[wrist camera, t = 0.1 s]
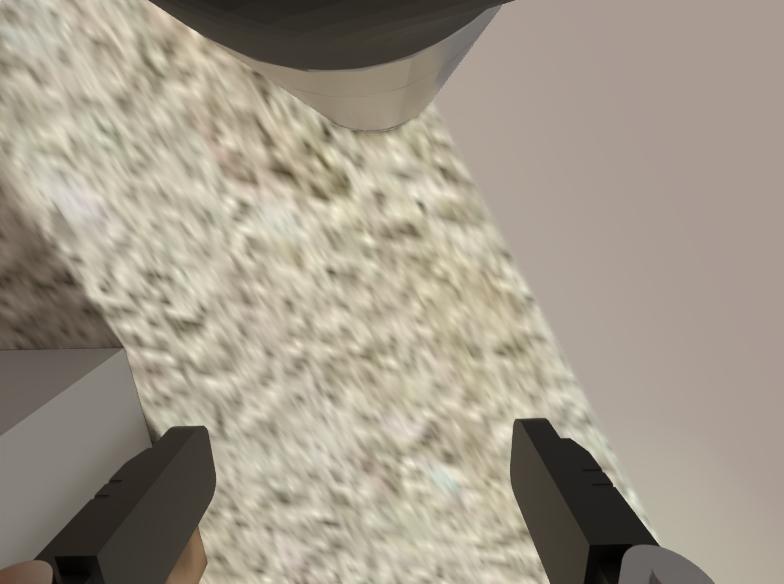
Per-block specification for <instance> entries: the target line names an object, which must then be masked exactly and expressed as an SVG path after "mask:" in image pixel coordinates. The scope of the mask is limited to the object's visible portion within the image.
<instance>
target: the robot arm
mask: <svg viewBox="0 0 784 584" xmlns="http://www.w3.org/2000/svg"><path fill="white" fill-rule="evenodd" d="M149 1H150V2H152V3H153V4H155V5H157V6H158V7H160V8H161V9H163V10H164V11H166V12H167V13H169V14H170V15H172V16H173V17H175V18H176V19H178V20H179V21H181V22H182V23H184V24H185V25H187V26H188V27H190V28H192V29H193V30H195V31H197V32H198V33H199V34H201V35H202V36H204V37H205V38H207V39H208V40H210V41H211V42H213V43H214V44H216V45H217V46H219V47H220V48H222V49H223V50H225V51H226V52H228V53H229V54H231V55H232V56H234V57H235V58H237V59H238V60H240V61H241V62H243V63H244V64H246V65H247V66H249V67H250V68H252V69H253V70H255V71H257V72H259V73H260V74H262V75H263V76H265V77H266V78H268V79H269V80H271V81H272V82H274V83H275V84H277V85H278V86H280V87H281V88H283V89H284V90H286V91H287V92H289V93H290V94H292V95H293V96H295V97H296V98H298V99H299V100H301V101H302V102H304V103H305V104H307V105H308V106H310V107H311V108H313V109H314V110H316V111H317V112H319V113H320V114H322V115H323V116H325V117H326V118H328V119H330V120H331V121H332V122H333V123H335V124H337V125H339V126H341V127H344V128H347V129H351V130H354V131H357V132H367V133H377V132H384V131H389V130H392V129H395V128H397V127H400V126H403V125H404V124H406V123H407V122H409V121H411V120H412V119H414V118H415V117H417V116H418V115H419V114H420V113H421V112H422V111H423V110H424V109H425V108H426V107H427V106H428V105H429V103H430V102H431V101H432V99H433V98H434V97H435V95H436V94H437V93H438V92H439V90H440V89H441V88H442V86H443V85H444V84H445V82H446V81H447V80H448V78H449V77H450V75H451V74H452V73H453V71H454V70H455V69H456V67H457V66H458V65H459V63H460V62H461V61H462V59H463V58H464V57H465V55H466V54H467V53H468V51H469V50H470V48H471V47H472V46H473V44H474V43H475V41H476V40H477V39H478V38H479V36H480V35H481V34H482V32H483V31H484V30H485V28H486V27H487V25H488V24H489V23H490V21H491V20H492V19H493V17H494V16H495V15H496V13H497V12H498V10H499V9H500V8H501V6H502V4H505V3H507V2H511V1H514V0H149ZM510 477H511V484H512V489H513V492H514V495H515V498H516V500H517V503H518V505H519V508H520V510H521V513H522V515H523V518H524V520H525V523H526V525H527V527H528V530H529V532H530V535H531V537H532V540H533V542H534V545H535V547H536V550H537V552H538V555H539V557H540V559H541V562H542V564H543V567H544V569H545V572H546V574H547V577H548V579H549V582H550V584H715V583H714V582H713V581H712V579H711V578H710V577H709V576H707V574H706V573H705V572H703V571H702V570H701V569H700V568H699V567H698V566H696V565H695V564H693V563H692V562H691V561H689V560H688V559H686V558H684V557H682V556H681V555H679V554H677V553H675V552H673V551H670V550H668V549H666V548H662V547H660V546H659V544H658V543H657V542H656V540H655V539H654V538H653V536H652V535H651V534H650V532H649V531H648V530H647V528H646V527H645V526H644V524H643V523H642V522H641V520H640V519H639V518H638V516H637V515H636V514H635V512H634V511H633V510H632V508H631V507H630V506H629V505H628V503H627V502H626V501H625V499H624V498H623V497H622V495H621V494H620V493H619V491H618V490H617V489H616V487H613V483H612V482H611V481H610V479H609V478H608V477H607V475H606V474H605V473H603V472H602V469H601V467H600V466H599V465H598V463H597V462H596V461H595V459H594V458H593V457H592V455H591V454H590V453H589V452H588V451H587V450H585V449H584V448H583V447H581V446H580V445H579V444H577V443H576V442H575V441H573V440H572V439H571V438H560V437H559V435H558V434H557V432H556V431H555V430H554V428H553V427H552V425H551V424H550V422H549V421H548V420H547V419H546V418H530V419H515V421H514V425H513V436H512V449H511V462H510ZM215 486H216V472H215V466H214V461H213V455H212V450H211V444H210V439H209V434H208V430H207V428H206V427H205V426H174V427H171V428H170V429H169V430H168V431H167V432H166V433H165V434H164V435H163V436H162V437H161V438H160V439H159V441H158V442H157V443H156V444H155V445H154V446H153V447H152V448H147V449H145V450H144V451H142V452H141V453H139V454H138V455H136V456H135V457H133V458H132V459H130V460H129V461H127V462H126V463H125V464H124V465H123V466H122V467H121V468H120V469H119V470H118V471H117V472H116V473H115V474H114V475H113V476H112V477H111V478H110V479H109V482H108V484H105V485H104V486H103V487H102V488H101V489H100V490H99V491H98V492H97V493H96V494H95V497H94V499H90V501H89V502H88V503H87V504H86V505H85V506H84V507H83V508H82V509H81V510H80V511H79V512H78V513H77V514H76V515H75V516H74V517H73V518H72V519H71V521H70V522H69V523H68V524H67V525H66V526H65V527H64V528H63V529H62V530H61V531H60V532H59V533H58V534H57V535H56V536H55V537H54V538H53V539H52V541H51V542H50V543H49V544H48V545H47V546H46V547H45V548H44V549H43V550H42V551H41V552H40V553H39V554H38V555H37V556H36V557H35V558H34V559H33V560H31V561H25V562H21V563H17V564H14V565H11V566H9V567H6V568H4V569H2V570H0V584H165V582H166V581H167V579H168V577H169V575H170V574H171V572H172V570H173V568H174V566H175V565H176V563H177V561H178V559H179V558H180V556H181V554H182V552H183V550H184V549H185V547H186V545H187V543H188V542H189V540H190V538H191V536H192V534H193V533H194V531H195V529H196V527H197V526H198V524H199V522H200V520H201V518H202V517H203V515H204V513H205V511H206V510H207V508H208V506H209V504H210V502H211V500H212V498H213V495H214V491H215Z"/></svg>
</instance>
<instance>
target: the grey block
mask: <svg viewBox="0 0 784 584" xmlns="http://www.w3.org/2000/svg"><path fill="white" fill-rule="evenodd" d="M152 447H153V446H152V442H151V439H150V435H149V432H148V428H147V425H146V421H145V418H144V415H143V411H142V408H141V404H140V401H139V397H138V394H137V390H136V387H135V383H134V380H133V376H132V373H131V369H130V366H129V362H128V359H127V356H126V352H125V349H124V348H88V349H38V350H0V570H2V569H4V568H6V567H9V566H11V565H14V564H17V563H21V562H25V561H31V560H33V559H34V558H35V557H36V556H37V555H38V554H39V553H40V552H41V551H42V550H43V549H44V548H45V547H46V546H47V545H48V544H49V543H50V542H51V541H52V539H53V538H54V537H55V536H56V535H57V534H58V533H59V532H60V531H61V530H62V529H63V528H64V527H65V526H66V525H67V524H68V523H69V522H70V521H71V519H72V518H73V517H74V516H75V515H76V514H77V513H78V512H79V511H80V510H81V509H82V508H83V507H84V506H85V505H86V504H87V503H88V502H89V501H90V499H94V497H95V494H96V493H97V492H98V491H99V490H100V489H101V488H102V487H103V486H104V485H105V484H108V482H109V479H110V478H111V477H112V476H113V475H114V474H115V473H116V472H117V471H118V470H119V469H120V468H121V467H122V466H123V465H124V464H125V463H126V462H127V461H129V460H130V459H132V458H133V457H135V456H136V455H138V454H139V453H141V452H142V451H144V450H145V449H147V448H152Z"/></svg>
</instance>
